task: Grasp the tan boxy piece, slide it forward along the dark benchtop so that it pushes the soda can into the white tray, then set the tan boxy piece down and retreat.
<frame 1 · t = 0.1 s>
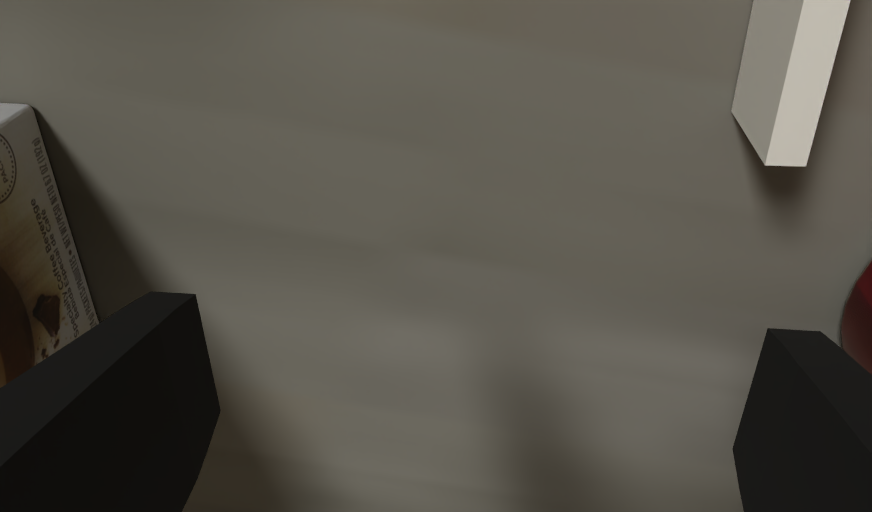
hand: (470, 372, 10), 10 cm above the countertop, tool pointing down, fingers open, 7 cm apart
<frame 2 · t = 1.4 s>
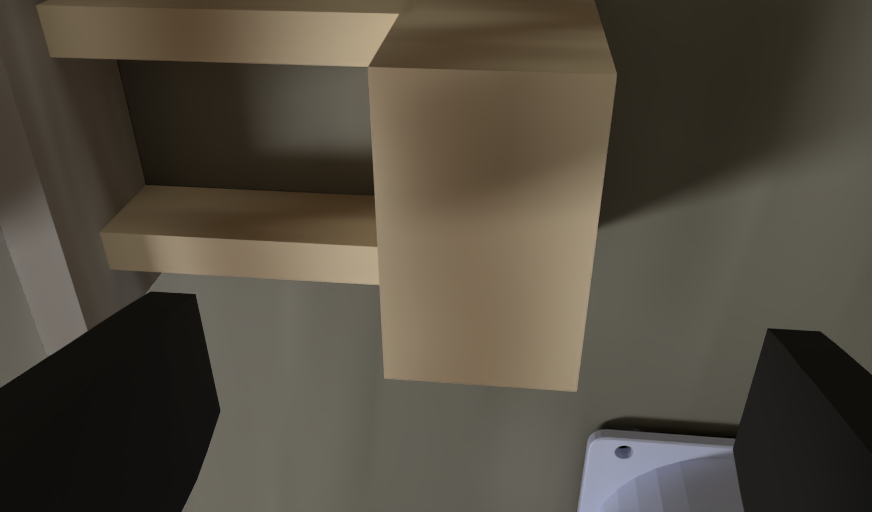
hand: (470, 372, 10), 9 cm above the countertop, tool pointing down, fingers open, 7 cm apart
tan boxy piece: (496, 123, 17), on the countertop
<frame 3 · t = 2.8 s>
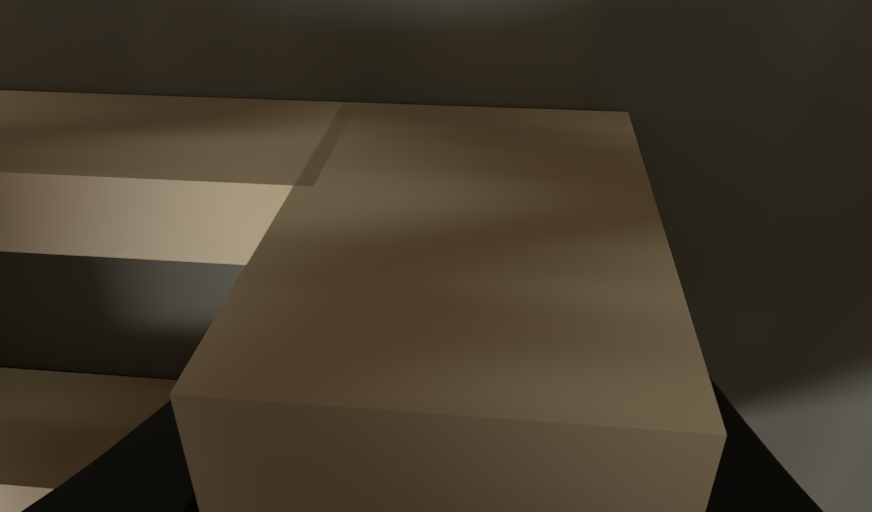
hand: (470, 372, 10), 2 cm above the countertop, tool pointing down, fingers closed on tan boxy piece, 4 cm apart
tan boxy piece: (477, 300, 11), on the countertop, touching gripper
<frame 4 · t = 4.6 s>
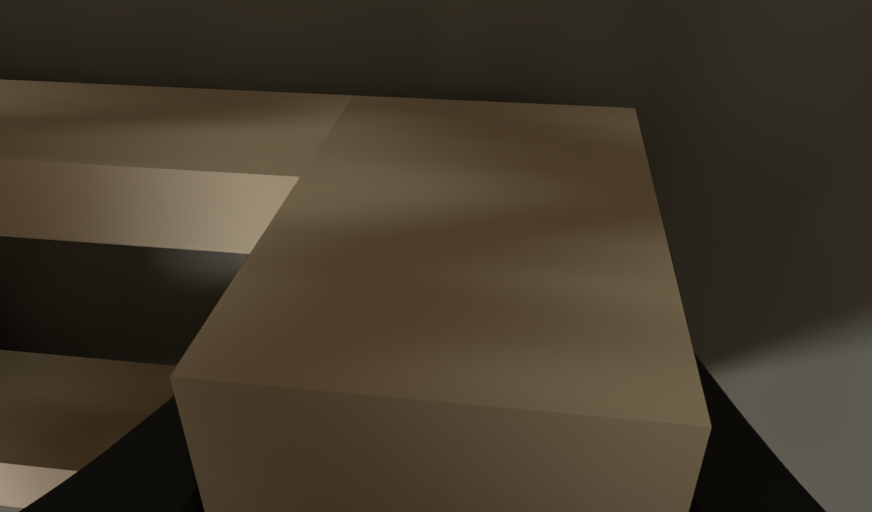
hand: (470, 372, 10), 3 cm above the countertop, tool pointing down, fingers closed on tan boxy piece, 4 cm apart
tan boxy piece: (483, 293, 11), point 1 cm above the countertop, touching gripper, soda can
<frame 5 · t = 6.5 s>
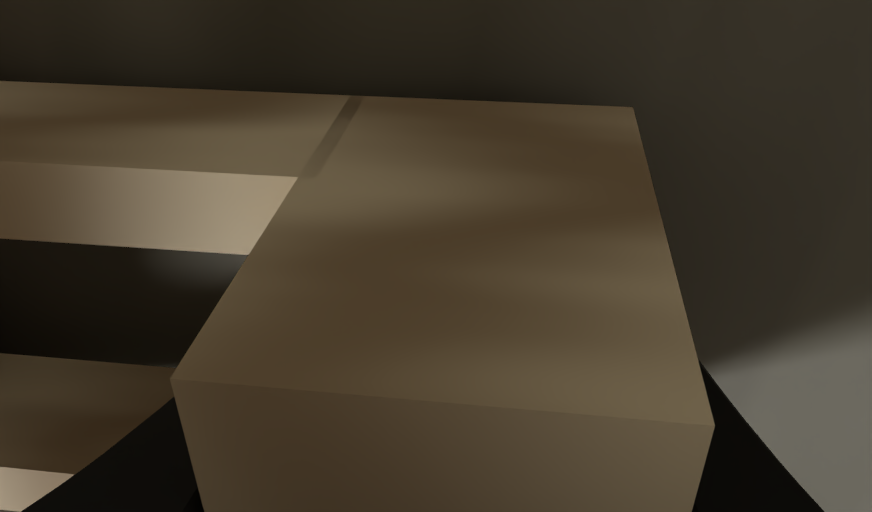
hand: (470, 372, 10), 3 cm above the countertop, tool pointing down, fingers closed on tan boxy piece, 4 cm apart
tan boxy piece: (481, 293, 11), point 1 cm above the countertop, touching gripper, soda can
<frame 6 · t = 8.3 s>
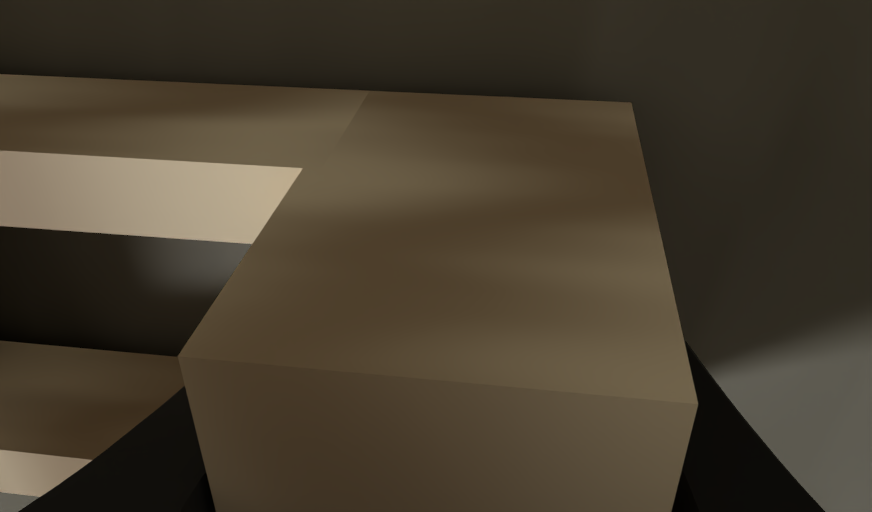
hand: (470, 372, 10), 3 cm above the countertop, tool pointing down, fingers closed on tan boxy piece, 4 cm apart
tan boxy piece: (483, 285, 11), point 1 cm above the countertop, touching gripper
when the fingers open (2 cm above the countertop, at t = 9.1 s): tan boxy piece stays where it is, on the countertop.
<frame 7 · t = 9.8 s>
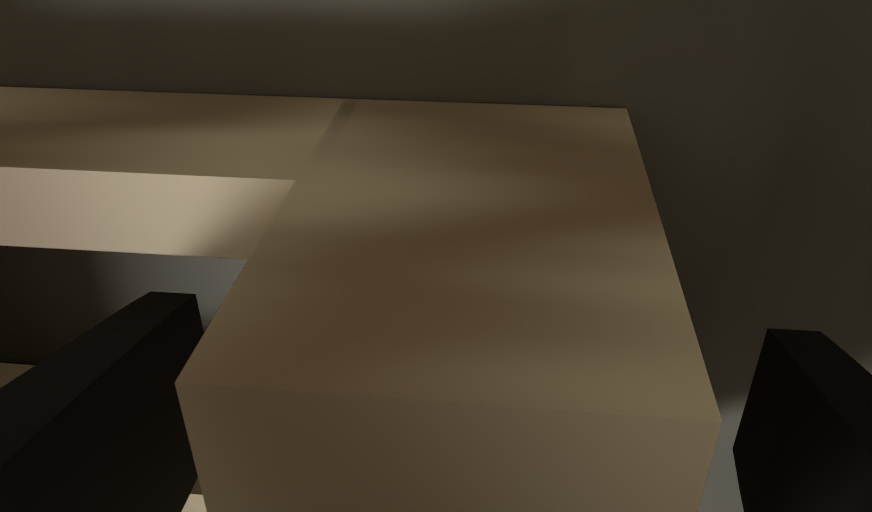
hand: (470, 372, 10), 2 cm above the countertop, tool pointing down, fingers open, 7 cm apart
tan boxy piece: (477, 295, 11), on the countertop
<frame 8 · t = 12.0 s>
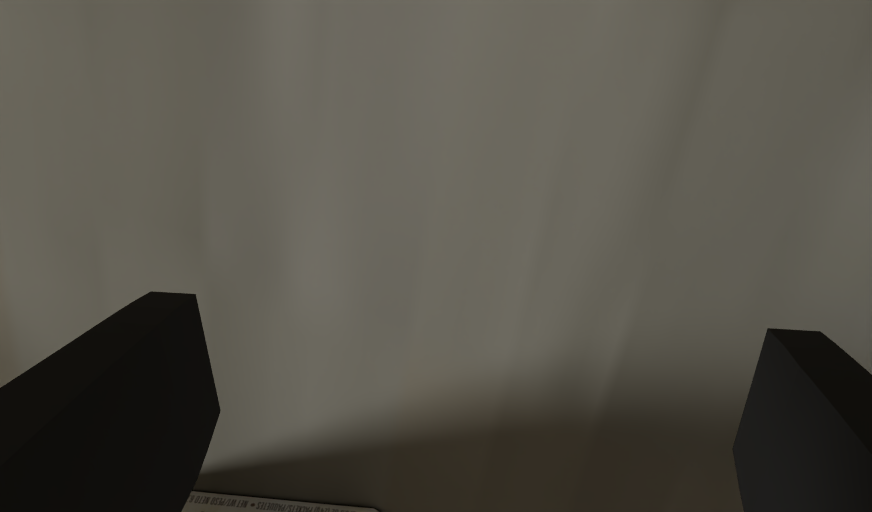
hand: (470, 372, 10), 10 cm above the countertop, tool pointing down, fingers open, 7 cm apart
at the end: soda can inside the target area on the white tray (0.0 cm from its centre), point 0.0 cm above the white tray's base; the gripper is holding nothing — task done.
